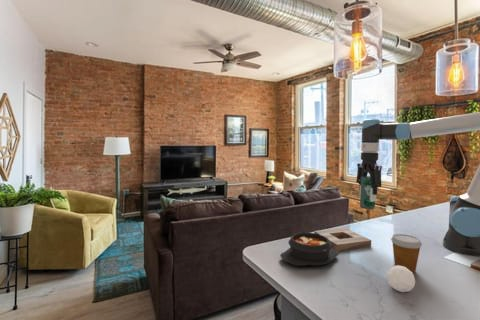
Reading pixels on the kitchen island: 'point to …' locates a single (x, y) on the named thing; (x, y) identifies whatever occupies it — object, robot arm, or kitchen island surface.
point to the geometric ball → (400, 278)
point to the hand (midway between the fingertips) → (367, 199)
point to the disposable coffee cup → (406, 250)
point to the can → (366, 193)
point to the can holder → (349, 241)
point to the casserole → (309, 250)
